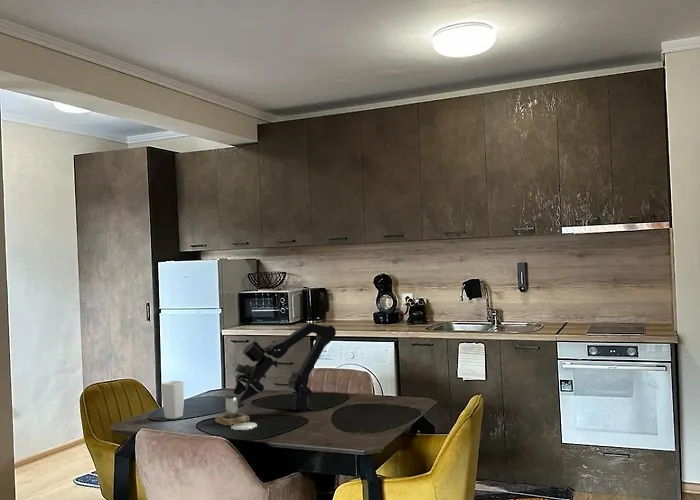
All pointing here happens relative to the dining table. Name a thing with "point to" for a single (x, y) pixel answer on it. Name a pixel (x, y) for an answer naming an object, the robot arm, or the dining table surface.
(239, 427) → the disc
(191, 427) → the dining table surface
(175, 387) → the cup
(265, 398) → the dining table surface
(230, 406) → the glass jar
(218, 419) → the oak collar
